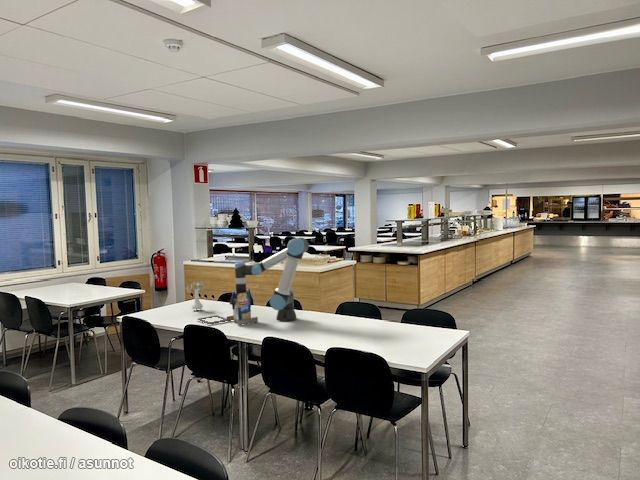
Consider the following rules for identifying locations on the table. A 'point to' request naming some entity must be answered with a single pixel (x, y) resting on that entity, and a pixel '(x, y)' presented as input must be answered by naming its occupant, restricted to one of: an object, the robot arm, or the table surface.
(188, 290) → the flower vase
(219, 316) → the tray
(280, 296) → the robot arm
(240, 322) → the carton holder
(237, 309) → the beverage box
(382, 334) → the table surface
